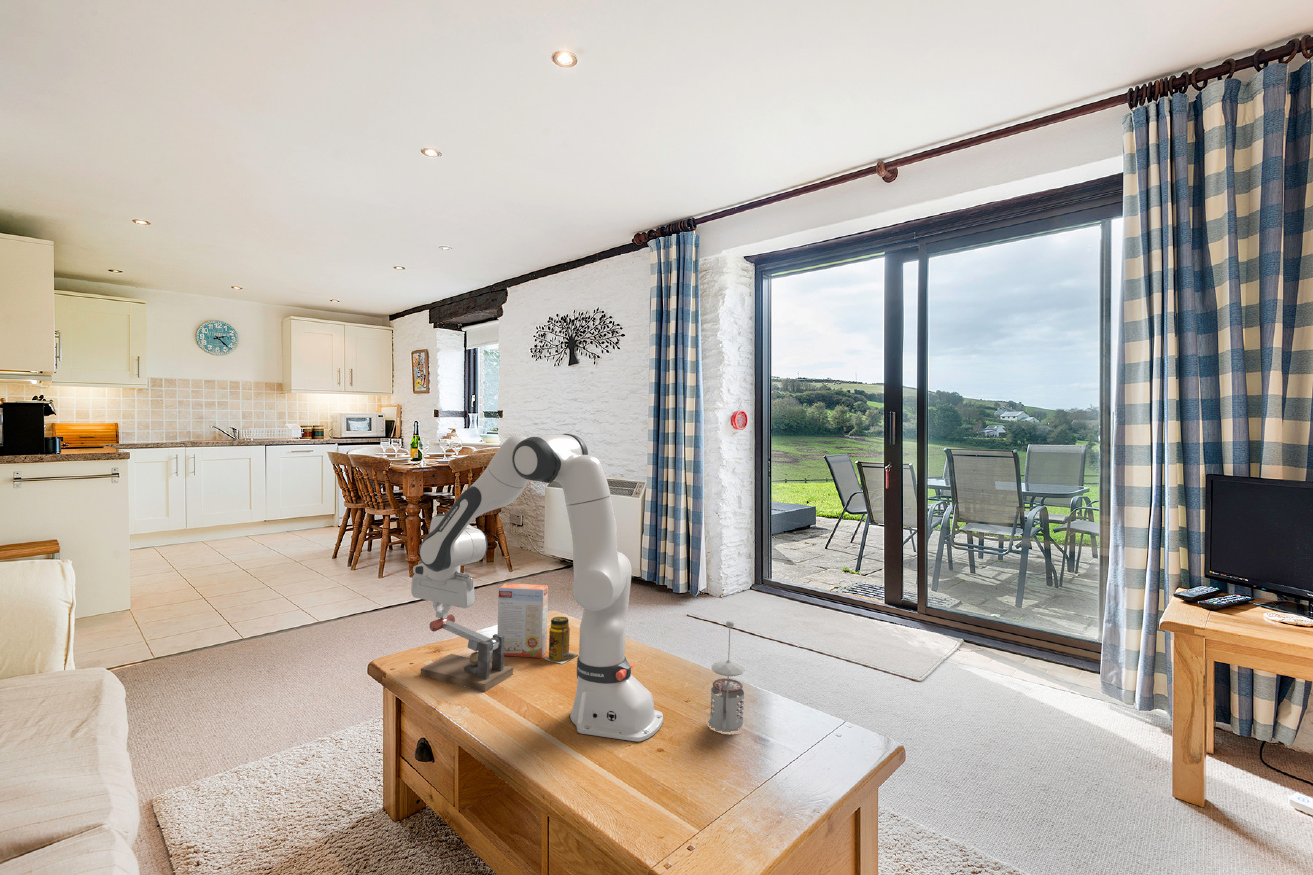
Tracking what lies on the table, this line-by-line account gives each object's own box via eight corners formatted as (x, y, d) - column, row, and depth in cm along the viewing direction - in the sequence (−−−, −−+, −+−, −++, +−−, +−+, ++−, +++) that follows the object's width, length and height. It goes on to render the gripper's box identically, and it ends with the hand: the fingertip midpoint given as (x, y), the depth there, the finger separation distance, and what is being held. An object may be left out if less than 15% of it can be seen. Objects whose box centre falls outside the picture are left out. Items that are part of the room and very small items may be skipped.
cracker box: (547, 651, 184) (549, 584, 184) (541, 658, 178) (543, 589, 178) (503, 648, 186) (505, 581, 186) (496, 655, 180) (498, 586, 180)
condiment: (542, 659, 178) (543, 619, 178) (559, 650, 186) (560, 612, 186) (562, 664, 175) (563, 624, 175) (578, 655, 182) (580, 616, 182)
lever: (502, 651, 165) (504, 637, 165) (485, 660, 158) (488, 645, 158) (445, 626, 173) (448, 612, 172) (427, 634, 166) (430, 619, 166)
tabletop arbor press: (512, 674, 167) (514, 633, 166) (484, 691, 156) (486, 648, 155) (451, 660, 175) (452, 621, 175) (420, 675, 164) (421, 634, 164)
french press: (749, 718, 146) (753, 617, 145) (743, 742, 135) (747, 632, 134) (709, 712, 148) (713, 612, 148) (700, 734, 137) (704, 627, 137)
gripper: (480, 572, 167) (478, 621, 168) (425, 561, 175) (422, 608, 176) (465, 577, 161) (463, 627, 162) (408, 566, 169) (406, 614, 170)
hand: (441, 617), depth 169 cm, fingers closed, pressing on lever
